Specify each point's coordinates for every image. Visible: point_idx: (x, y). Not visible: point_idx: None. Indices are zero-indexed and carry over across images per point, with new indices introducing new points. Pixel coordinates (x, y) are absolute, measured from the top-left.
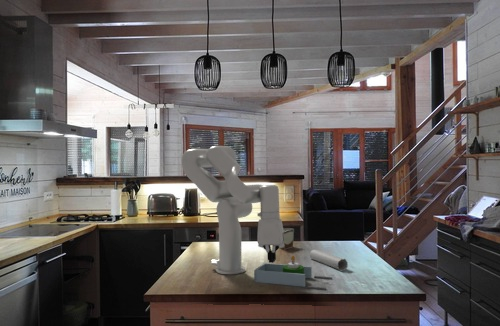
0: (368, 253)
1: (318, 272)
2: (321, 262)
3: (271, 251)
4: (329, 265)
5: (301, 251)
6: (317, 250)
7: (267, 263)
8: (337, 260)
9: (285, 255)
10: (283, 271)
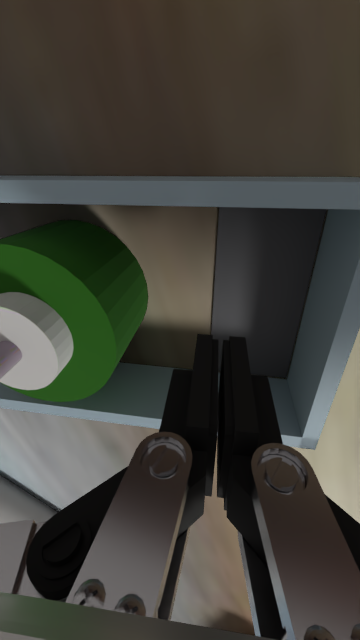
0: None
1: (40, 437)
2: None
3: (227, 497)
4: (39, 504)
5: (197, 617)
6: None
7: (284, 438)
8: None
9: (243, 596)
10: (100, 274)
